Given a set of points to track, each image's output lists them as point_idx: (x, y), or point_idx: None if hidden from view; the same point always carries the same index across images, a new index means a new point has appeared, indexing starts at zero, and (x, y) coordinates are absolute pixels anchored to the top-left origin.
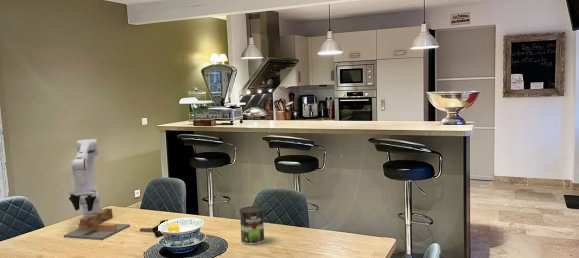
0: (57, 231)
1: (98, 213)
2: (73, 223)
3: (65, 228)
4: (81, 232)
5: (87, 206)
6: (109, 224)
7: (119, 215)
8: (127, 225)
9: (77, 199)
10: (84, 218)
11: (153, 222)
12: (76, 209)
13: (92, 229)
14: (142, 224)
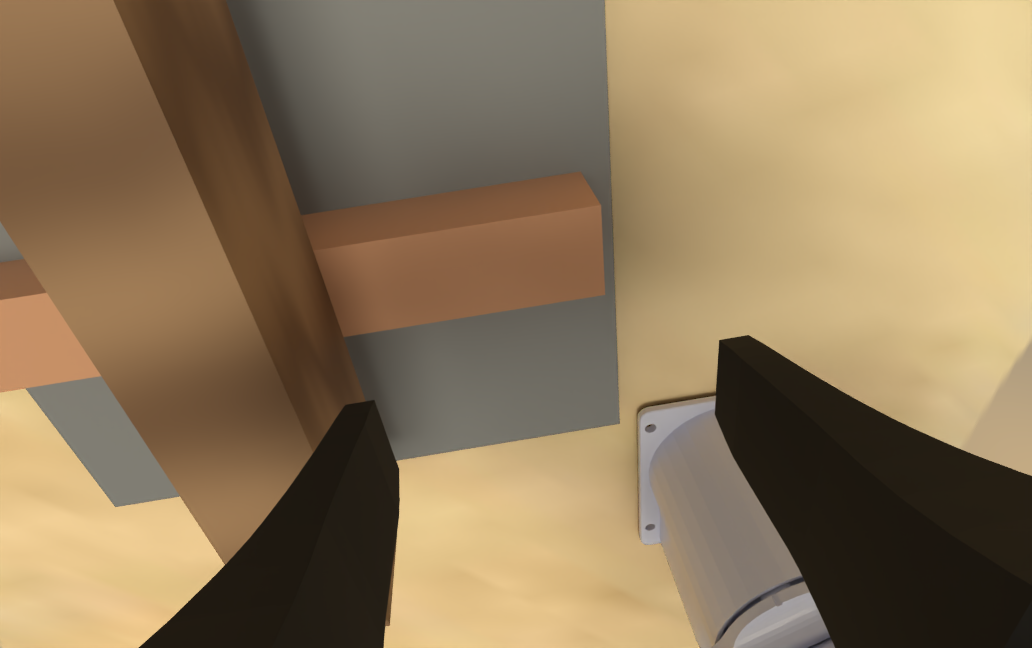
0: (915, 58)
1: (186, 438)
2: (887, 353)
3: (873, 196)
4: (411, 78)
5: (330, 479)
6: (21, 339)
7: (571, 617)
8: (95, 478)
9: (870, 634)
10: (5, 31)
11: (36, 616)
12: (729, 361)
13: (331, 216)
14: (69, 557)
